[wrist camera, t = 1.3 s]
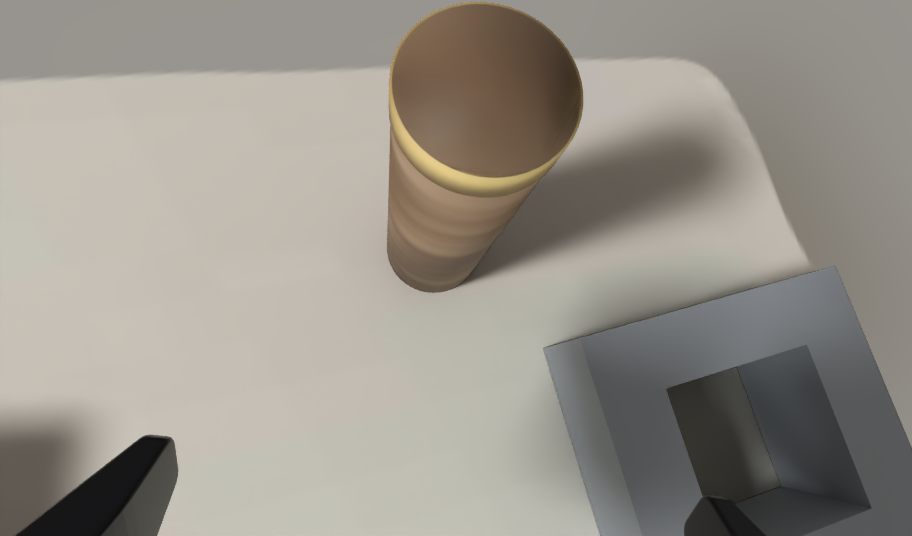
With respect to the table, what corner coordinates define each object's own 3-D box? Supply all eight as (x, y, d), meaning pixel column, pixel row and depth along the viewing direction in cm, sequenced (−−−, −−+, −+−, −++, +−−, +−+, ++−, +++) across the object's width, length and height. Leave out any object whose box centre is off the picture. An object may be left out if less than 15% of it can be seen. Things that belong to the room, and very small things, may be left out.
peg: (489, 281, 24) (609, 157, 11) (399, 303, 23) (418, 199, 10) (464, 195, 24) (549, -11, 12) (375, 215, 24) (367, 17, 11)
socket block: (851, 527, 23) (957, 558, 19) (624, 616, 21) (686, 674, 17) (758, 286, 25) (835, 265, 21) (543, 348, 23) (579, 338, 19)
